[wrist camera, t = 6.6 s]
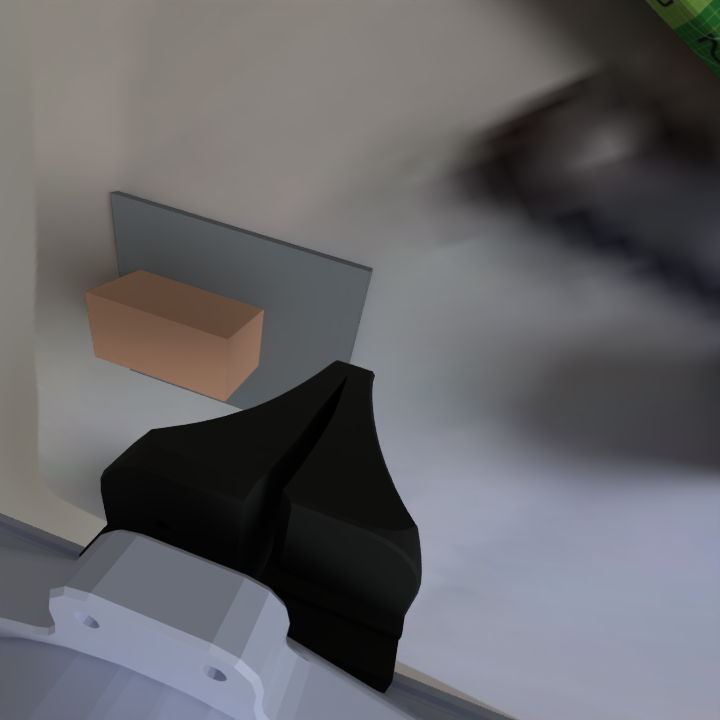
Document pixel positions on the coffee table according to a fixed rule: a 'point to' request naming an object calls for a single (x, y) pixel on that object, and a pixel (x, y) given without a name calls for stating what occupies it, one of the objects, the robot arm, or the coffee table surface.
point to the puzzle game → (694, 26)
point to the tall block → (175, 332)
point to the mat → (251, 288)
